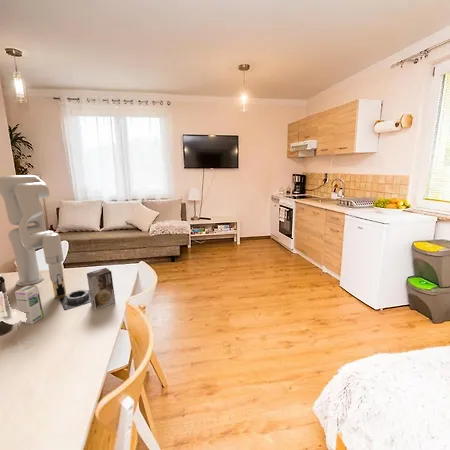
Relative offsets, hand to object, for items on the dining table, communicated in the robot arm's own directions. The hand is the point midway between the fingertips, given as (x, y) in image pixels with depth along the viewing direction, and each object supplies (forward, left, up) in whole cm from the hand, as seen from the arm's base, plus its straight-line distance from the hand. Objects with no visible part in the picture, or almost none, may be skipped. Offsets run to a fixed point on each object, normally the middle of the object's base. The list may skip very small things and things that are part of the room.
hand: (60, 292), depth 135 cm
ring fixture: (+10, +6, -2) cm, 12 cm away
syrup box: (+17, -13, -2) cm, 22 cm away
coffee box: (+23, +14, -2) cm, 27 cm away
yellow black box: (0, 0, -2) cm, 2 cm away
